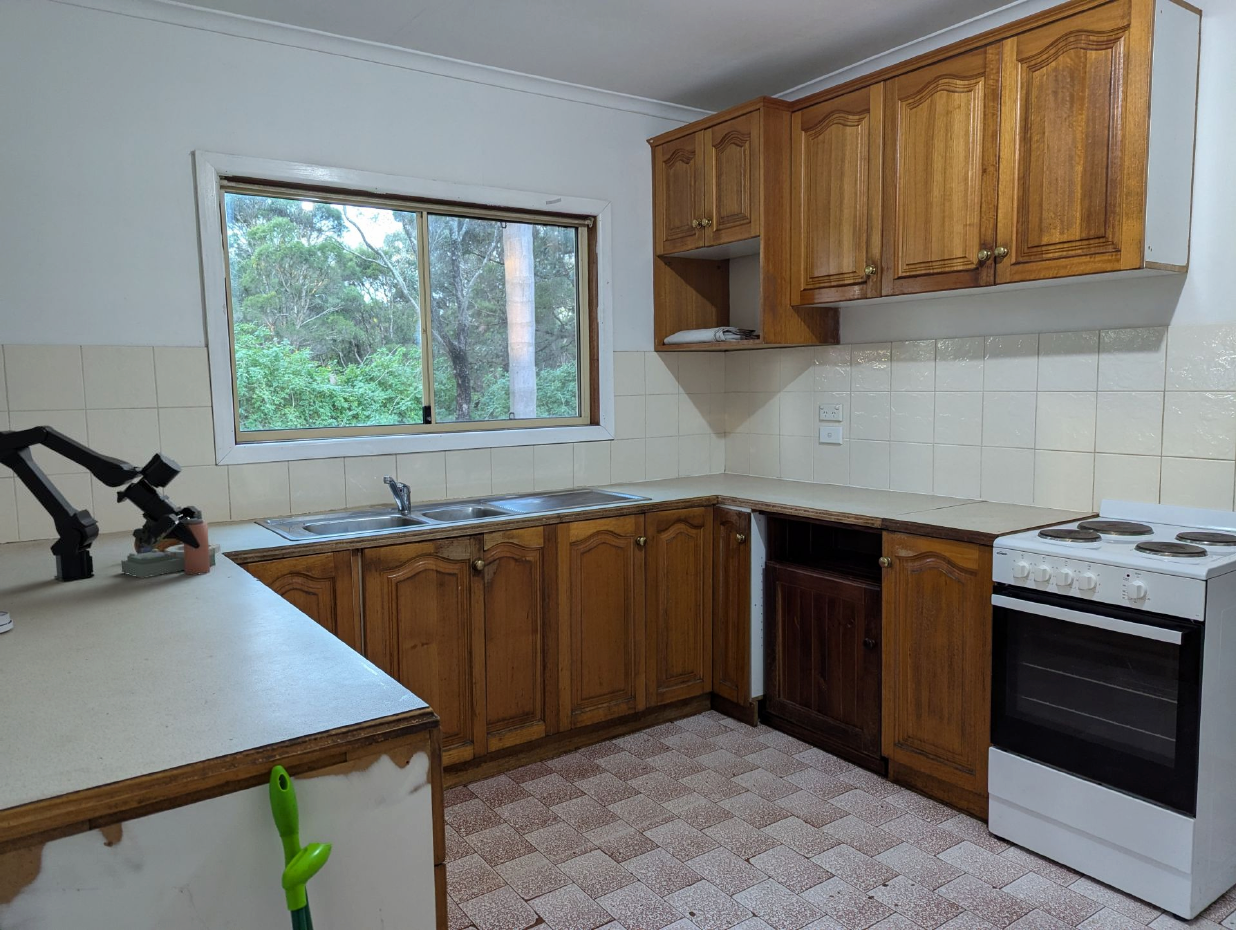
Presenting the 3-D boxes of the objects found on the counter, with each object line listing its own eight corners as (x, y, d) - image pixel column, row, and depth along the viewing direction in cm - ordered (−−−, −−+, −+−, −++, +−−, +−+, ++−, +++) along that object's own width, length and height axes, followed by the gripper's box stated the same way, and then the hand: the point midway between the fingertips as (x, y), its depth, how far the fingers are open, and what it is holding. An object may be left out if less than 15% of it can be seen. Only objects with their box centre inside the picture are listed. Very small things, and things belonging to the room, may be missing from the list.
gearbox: (142, 578, 201) (141, 558, 201) (120, 572, 209) (119, 553, 208) (228, 563, 218) (227, 544, 217) (205, 558, 225) (204, 540, 225)
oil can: (192, 575, 204) (188, 513, 202) (181, 573, 207) (177, 511, 206) (214, 571, 208) (210, 510, 207) (203, 569, 211) (199, 509, 210)
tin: (139, 562, 221) (136, 530, 220) (133, 560, 223) (131, 529, 222) (196, 553, 233) (195, 522, 232) (191, 551, 235) (189, 521, 234)
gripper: (141, 520, 213) (191, 562, 216) (110, 532, 195) (164, 577, 198) (173, 488, 214) (222, 530, 217) (145, 497, 195) (199, 542, 198)
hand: (202, 545), depth 207 cm, fingers closed on oil can, 5 cm apart
